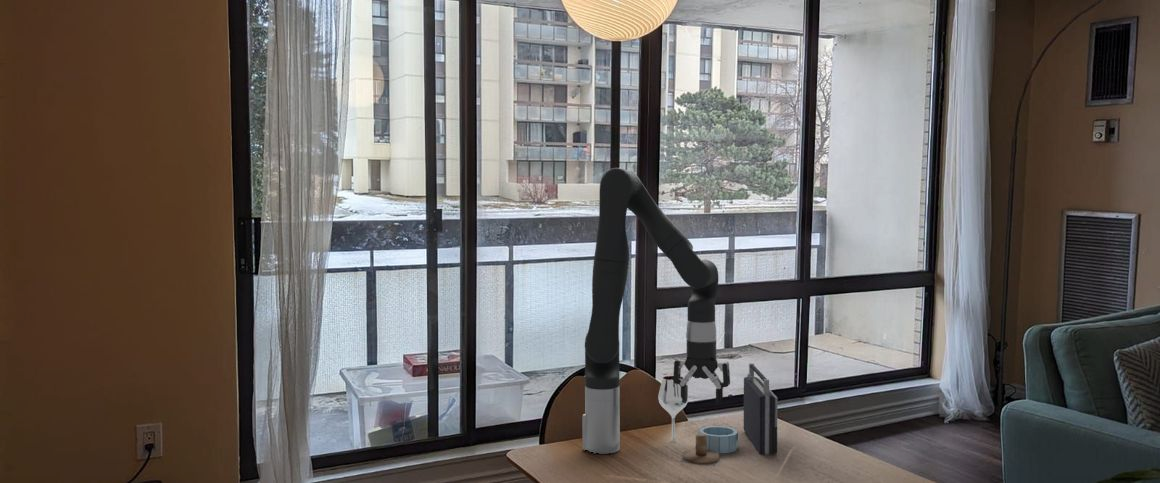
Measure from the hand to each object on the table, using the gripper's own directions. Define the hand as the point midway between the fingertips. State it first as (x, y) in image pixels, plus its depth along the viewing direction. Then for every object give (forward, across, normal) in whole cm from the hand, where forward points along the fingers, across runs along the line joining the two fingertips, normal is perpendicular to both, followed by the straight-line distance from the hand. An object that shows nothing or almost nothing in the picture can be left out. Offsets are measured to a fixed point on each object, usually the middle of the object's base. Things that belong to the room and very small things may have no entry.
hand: (701, 401), depth 217 cm
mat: (+15, 0, 0) cm, 15 cm away
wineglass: (+15, +11, -13) cm, 23 cm away
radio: (+16, -11, -21) cm, 29 cm away
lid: (+15, 0, 0) cm, 15 cm away
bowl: (+15, -2, -11) cm, 19 cm away
